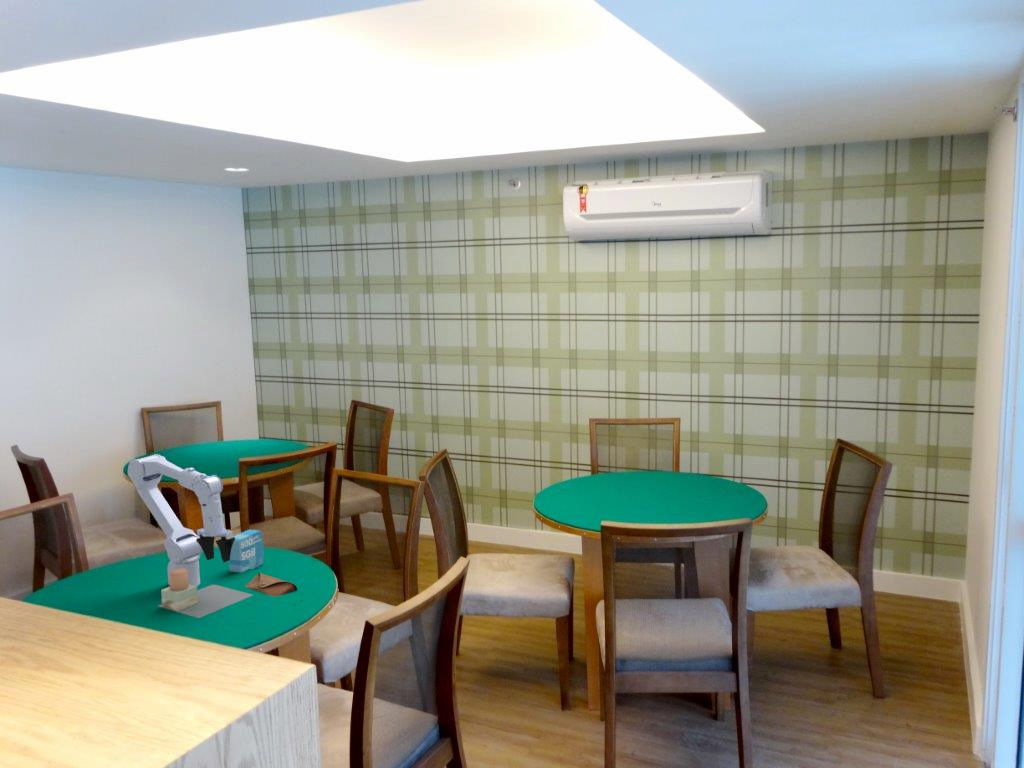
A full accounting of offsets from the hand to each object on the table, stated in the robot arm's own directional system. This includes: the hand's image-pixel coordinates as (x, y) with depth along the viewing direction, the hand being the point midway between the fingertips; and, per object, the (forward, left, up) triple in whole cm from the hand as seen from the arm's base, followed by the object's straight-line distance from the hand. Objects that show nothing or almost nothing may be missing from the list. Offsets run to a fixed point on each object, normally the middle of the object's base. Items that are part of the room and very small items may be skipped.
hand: (218, 560), depth 258 cm
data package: (-10, +19, -11) cm, 24 cm away
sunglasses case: (+12, +9, -11) cm, 18 cm away
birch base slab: (-1, -14, -10) cm, 17 cm away
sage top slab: (-1, -14, -7) cm, 15 cm away
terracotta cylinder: (-1, -14, -5) cm, 14 cm away
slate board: (+3, -8, -11) cm, 13 cm away
